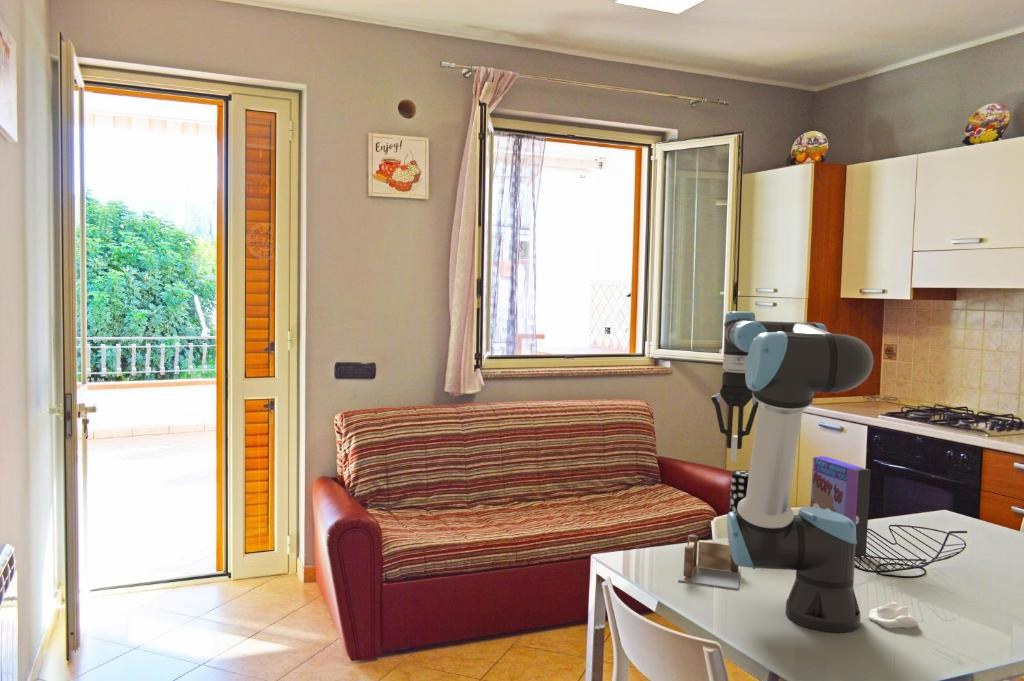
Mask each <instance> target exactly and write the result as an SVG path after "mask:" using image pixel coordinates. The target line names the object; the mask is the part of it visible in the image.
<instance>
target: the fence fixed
mask: <svg viewBox="0 0 1024 681" xmlns="http://www.w3.org/2000/svg"><path fill="white" fill-rule="evenodd" d="M698 539H699V537H698V535H696V534H688V535H687V546H688V545H689V542H695V543H694V565H693V567H695V566H696V564H698V567H704V568H712V569H719V570H727V571H732V572H738V569H740V568H739V567H740V566H738V565H736V564H735V563H734V561H733V559H732V556H731V552H730V547H729V543H725V542H719V541H718V542H717V541H716V542H715V541H709V540H701V539H699V540H698Z"/></svg>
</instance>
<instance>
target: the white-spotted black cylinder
mask: <svg viewBox="0 0 1024 681" xmlns="http://www.w3.org/2000/svg"><path fill="white" fill-rule="evenodd" d="M749 471H750V470H744V469H742V470H741V469H738V470H732V471H731V478H730V479H731V480H730V498H729V499H730V501H729V503H730V504H729V512H732V511H735V512H737V506H738V503H739V502H740V501H741V500H742V499H744V498H746V493H747V486H748V478H749ZM728 543H729V540H728Z"/></svg>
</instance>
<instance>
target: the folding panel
mask: <svg viewBox="0 0 1024 681" xmlns="http://www.w3.org/2000/svg"><path fill="white" fill-rule="evenodd" d="M694 543H695V542H689V545H688V544H687V546H684V556H683V565H684V576H685V577H692V569H693V565H694Z"/></svg>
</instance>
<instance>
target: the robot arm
mask: <svg viewBox="0 0 1024 681" xmlns="http://www.w3.org/2000/svg"><path fill="white" fill-rule="evenodd" d="M723 335H724V336H723V338H724V339H723V340H724V342H723V356H722V369H723V371H722V381H721V388H720V390H719V392H718V393H717V394H714V395H712V396H711V398H710V399H711V402H712V403H713V405H714V407H715V413H716V417H717V423H718V427H719V432H720V433H721V434H724V435H725V436H726V448H727V449H730V463H737V460H738V458H737V457H738V450H741V449H742V448H743V437H744V436H749V435H750V434H751V430H752V427H753V424H754V421H755V428H754V434H753V435H754V436H753V441H752V448H751V457H750V463H749V464H750V466H749V470H748V471H749V478H748V486H747V493H746V498H744V499H742V500H741V501H740V502H739V503H738V506H737V512H735V511H732V512H730V511H729V512H728V513H727V516H726V530H727V540H728V541H729V542H728V544H729V547H730V552H731V556H732V559H733V561H734V563H735V564H736V565H738V566H739V567H742V568H751V569H753V570H755V569H766V570H767V569H770V570H785V571H786V570H788V571H795V580H794V583H793V585H792V586H791V589H790V591H789V594H788V597H787V599H786V601H785V615H786V616H787V618H789V619H790V620H791V621H793V622H794V623H796V624H798V625H801V626H803V627H806V628H808V629H809V628H810V629H812V630H816V631H821V632H822V631H823V632H831V633H847V632H852V631H856V630H857V629H858V628H860V626H861V616H862V615H861V610H860V606H859V604H858V603H859V602H858V600H857V596H856V592H855V590H854V581H855V580H854V578H855V562H856V558H855V550H856V544H857V541H856V526H855V524H854V522H853V521H852V520H851V519H849V518H848V517H846V516H844V515H841V514H839V513H836V512H833V511H829V510H825V509H821V508H815V507H810V506H806V507H805V506H803V507H800V508H799V511H797V512H798V514H794V511H793V510H792V509H791V507H790V506H789V499H790V493H791V487H792V481H793V474H794V468H795V462H796V455H797V448H798V442H799V436H800V430H801V425H802V418H803V417H802V416H803V412H804V410H805V409H807V408H809V407H810V406H811V405H812V404H813V400H814V396H815V395H814V394H816V393H822V394H823V393H825V394H827V393H828V394H833V393H834V394H835V393H842V392H843V393H844V392H848V391H850V390H852V389H854V388H857V387H858V386H859V385H861V384H862V383H864V382H865V381H866V380H867V379H868V378H869V376H870V375H871V373H872V371H873V366H874V355H873V353H872V350H871V349H870V346H869V345H868V344H867V343H866V342H864V341H863V340H862V339H860V338H858V337H856V336H853V335H850V334H839V333H831V332H828V328H827V326H826V324H824V323H820V322H813V321H807V322H805V321H804V322H802V321H801V322H799V321H797V322H796V321H795V322H793V321H792V322H791V321H773V320H772V321H771V320H769V321H767V320H766V321H765V320H756V314H755V312H753V311H737V310H736V311H735V310H734V311H731V310H729V311H727V312H726V313H725V318H724V334H723ZM721 398H722V399H723V401H724V402H725V404H726V405H727V406H728V412H727V428H725V422H724V417H723V413H722V408H721V401H722V399H721ZM750 401H751V404H752V406H751V410H750V413H749V416H748V418H747V422H746V426H745V429H744V428H743V426H744V412H745V411H744V410H745V408H744V407H746V406H747V405H748V403H749V402H750ZM734 407H737V408H738V412H737V413H738V415H737V435H733V421H734V420H733V419H734ZM755 417H756V420H755Z"/></svg>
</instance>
